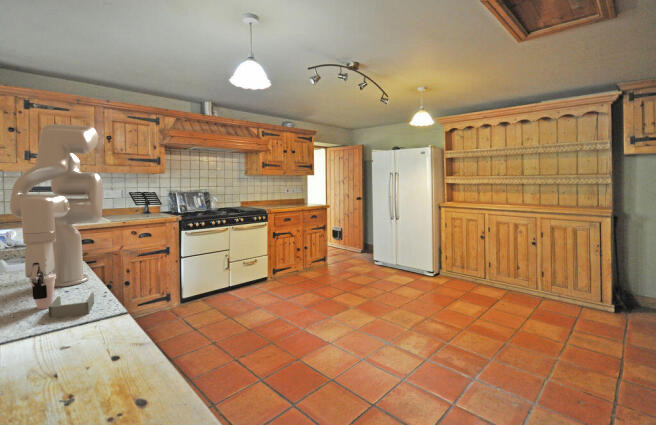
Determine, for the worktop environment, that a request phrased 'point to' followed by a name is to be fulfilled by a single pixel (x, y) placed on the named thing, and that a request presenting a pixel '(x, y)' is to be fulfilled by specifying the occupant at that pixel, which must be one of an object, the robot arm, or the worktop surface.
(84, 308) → the bay
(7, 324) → the worktop surface
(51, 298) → the smoothie
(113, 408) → the worktop surface
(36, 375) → the worktop surface
